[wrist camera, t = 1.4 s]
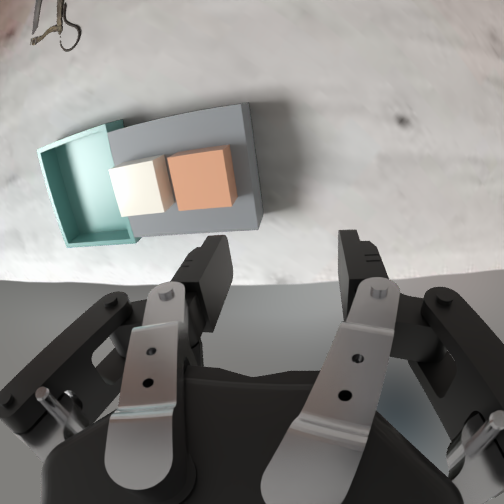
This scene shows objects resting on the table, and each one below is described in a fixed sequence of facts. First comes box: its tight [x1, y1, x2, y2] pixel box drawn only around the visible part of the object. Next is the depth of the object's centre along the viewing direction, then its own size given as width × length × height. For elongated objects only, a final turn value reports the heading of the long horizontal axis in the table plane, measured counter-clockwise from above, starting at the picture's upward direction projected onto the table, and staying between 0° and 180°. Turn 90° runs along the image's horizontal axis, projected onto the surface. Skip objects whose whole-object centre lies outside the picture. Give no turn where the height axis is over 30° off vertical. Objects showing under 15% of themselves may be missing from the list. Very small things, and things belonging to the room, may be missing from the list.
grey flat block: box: [107, 103, 263, 237], centre depth 30 cm, size 14×12×4 cm
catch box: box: [37, 119, 142, 248], centre depth 33 cm, size 12×14×4 cm
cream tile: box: [109, 154, 174, 217], centre depth 28 cm, size 5×5×2 cm
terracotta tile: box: [167, 145, 238, 211], centre depth 26 cm, size 5×5×2 cm
